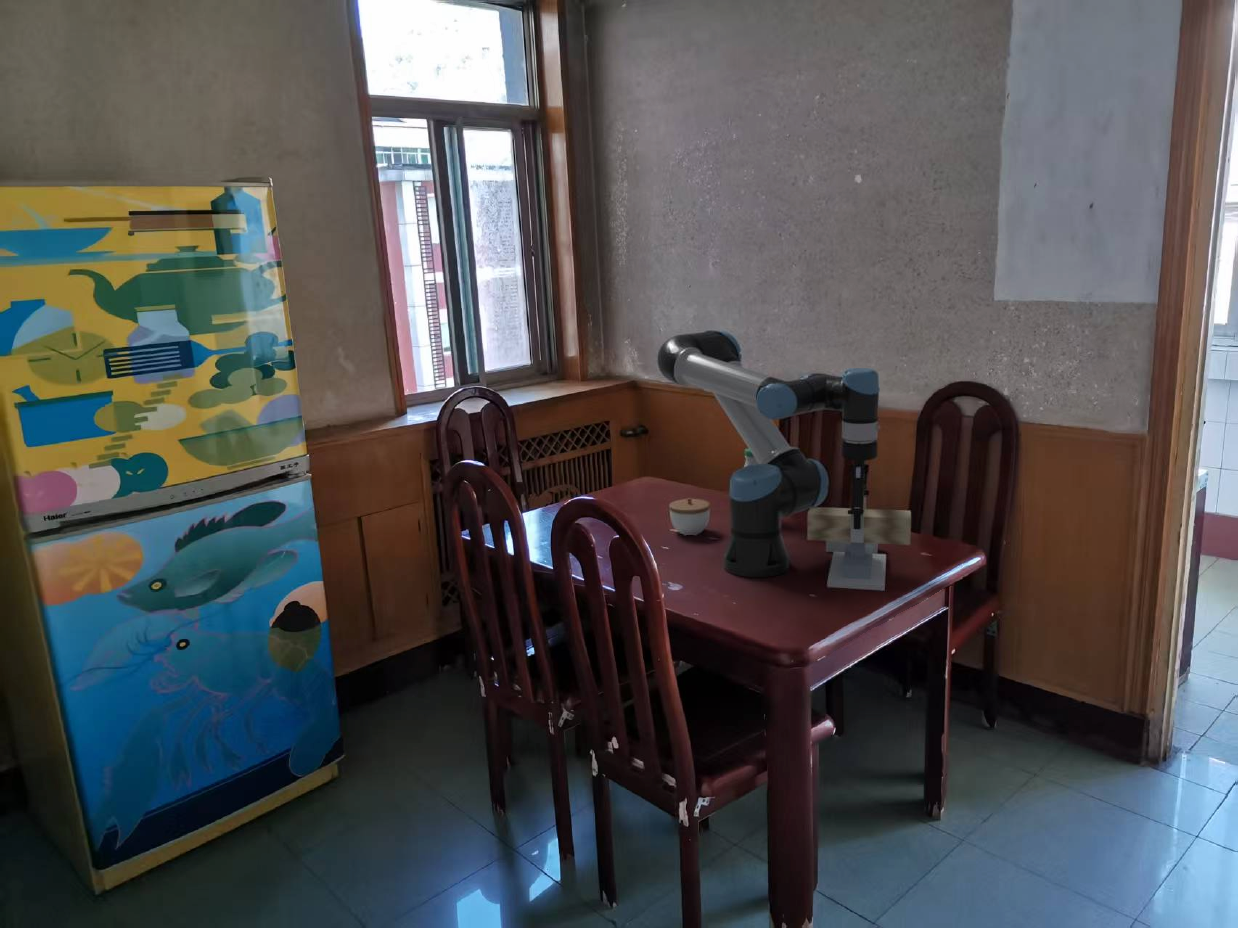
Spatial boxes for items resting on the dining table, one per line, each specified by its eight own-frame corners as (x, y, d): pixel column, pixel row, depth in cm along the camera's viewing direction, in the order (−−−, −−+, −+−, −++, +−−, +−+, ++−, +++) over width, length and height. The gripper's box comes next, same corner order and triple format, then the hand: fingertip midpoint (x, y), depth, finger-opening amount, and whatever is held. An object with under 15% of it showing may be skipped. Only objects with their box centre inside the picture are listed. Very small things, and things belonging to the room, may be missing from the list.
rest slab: (826, 551, 214) (826, 540, 213) (827, 546, 217) (827, 534, 217) (877, 554, 210) (877, 542, 209) (877, 549, 214) (878, 537, 213)
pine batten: (807, 539, 198) (807, 514, 196) (809, 531, 203) (810, 506, 202) (910, 544, 191) (911, 518, 190) (909, 536, 197) (910, 510, 195)
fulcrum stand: (827, 586, 192) (827, 551, 190) (833, 556, 210) (833, 523, 208) (884, 590, 188) (885, 554, 186) (885, 559, 207) (886, 525, 205)
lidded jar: (709, 538, 228) (708, 504, 225) (668, 538, 229) (667, 504, 227) (711, 526, 238) (710, 492, 236) (672, 526, 240) (671, 492, 237)
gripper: (876, 453, 179) (874, 551, 184) (878, 428, 202) (877, 516, 207) (838, 452, 182) (837, 549, 187) (845, 428, 205) (844, 515, 210)
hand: (858, 532), depth 197 cm, fingers open, 13 cm apart
